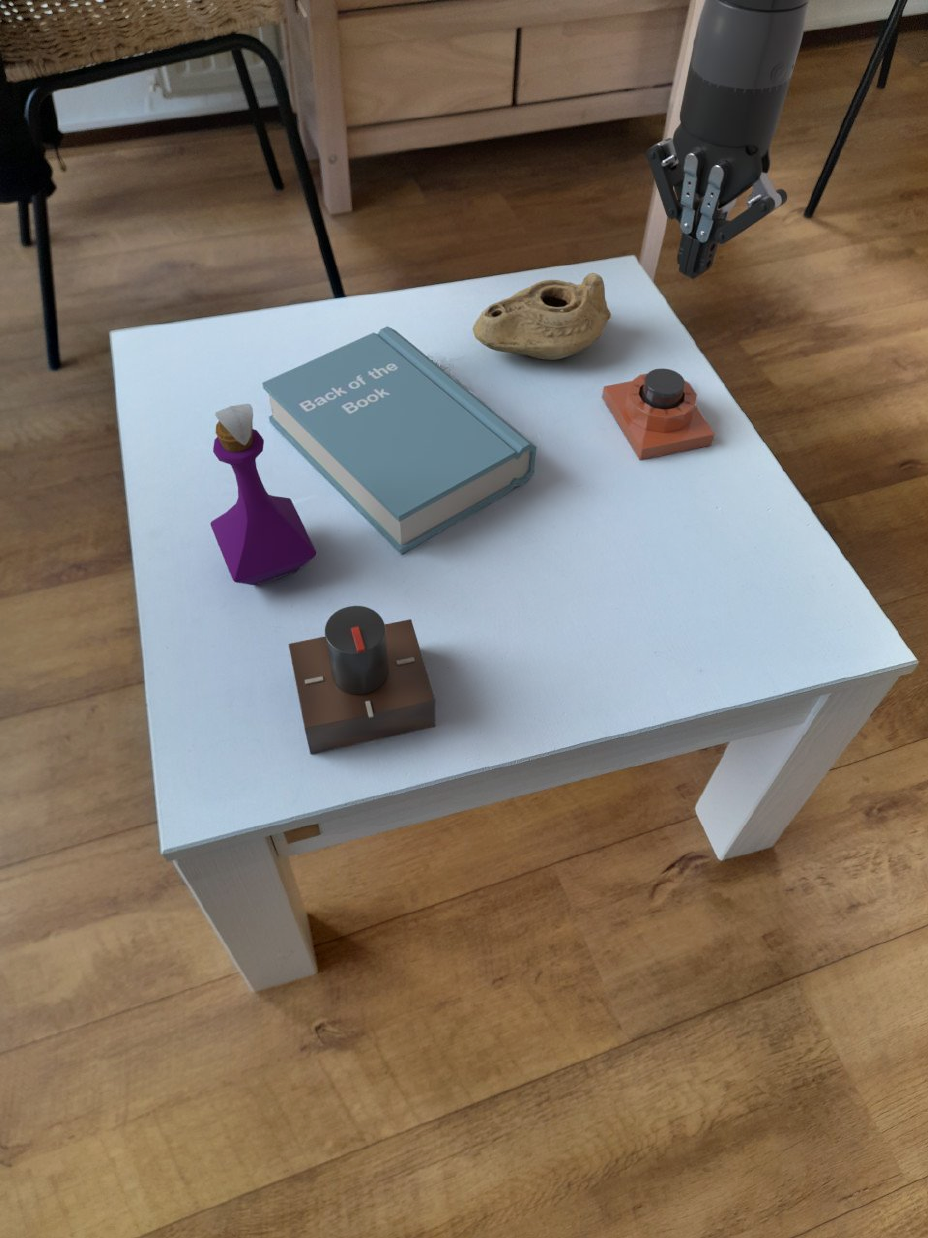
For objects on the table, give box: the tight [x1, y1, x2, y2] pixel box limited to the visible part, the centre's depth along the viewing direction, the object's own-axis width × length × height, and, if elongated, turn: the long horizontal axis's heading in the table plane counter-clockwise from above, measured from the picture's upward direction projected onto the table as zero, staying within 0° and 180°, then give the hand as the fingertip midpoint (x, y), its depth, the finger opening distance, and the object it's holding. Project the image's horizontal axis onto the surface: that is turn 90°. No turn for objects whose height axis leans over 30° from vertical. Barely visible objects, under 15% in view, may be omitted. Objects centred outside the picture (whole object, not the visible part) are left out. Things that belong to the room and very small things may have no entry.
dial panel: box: [288, 618, 436, 755], centre depth 73 cm, size 10×9×4 cm
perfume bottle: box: [210, 403, 318, 586], centre depth 76 cm, size 8×8×18 cm
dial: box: [324, 605, 388, 694], centre depth 70 cm, size 4×4×6 cm
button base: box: [601, 372, 716, 461], centre depth 95 cm, size 10×8×4 cm
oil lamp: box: [472, 272, 612, 361], centre depth 100 cm, size 11×15×8 cm
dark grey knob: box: [642, 368, 686, 410], centre depth 93 cm, size 4×4×2 cm
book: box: [261, 325, 538, 555], centre depth 91 cm, size 23×16×5 cm
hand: (691, 271), depth 82 cm, fingers closed
